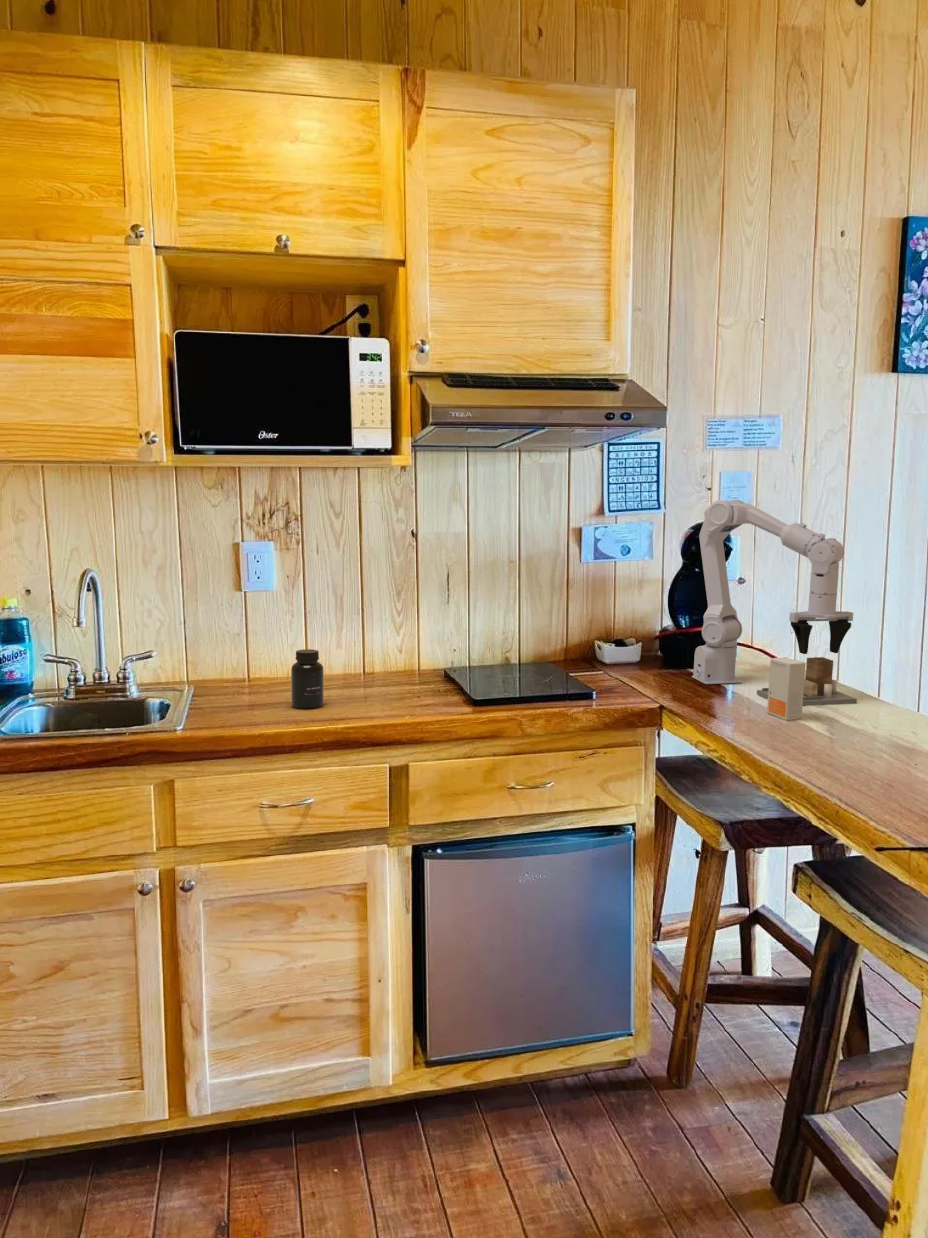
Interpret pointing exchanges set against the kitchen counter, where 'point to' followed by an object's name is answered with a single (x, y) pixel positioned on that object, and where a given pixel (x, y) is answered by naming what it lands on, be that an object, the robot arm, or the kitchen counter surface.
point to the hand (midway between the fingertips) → (818, 652)
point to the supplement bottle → (307, 680)
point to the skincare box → (786, 688)
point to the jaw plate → (810, 688)
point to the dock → (829, 696)
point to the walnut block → (819, 672)
